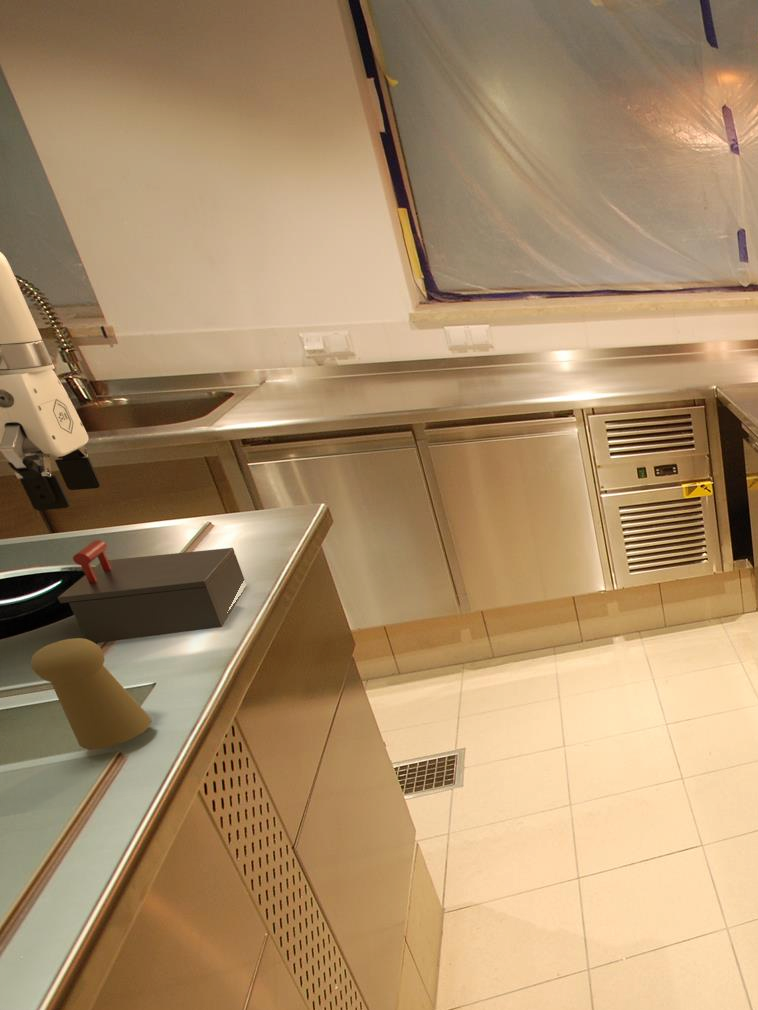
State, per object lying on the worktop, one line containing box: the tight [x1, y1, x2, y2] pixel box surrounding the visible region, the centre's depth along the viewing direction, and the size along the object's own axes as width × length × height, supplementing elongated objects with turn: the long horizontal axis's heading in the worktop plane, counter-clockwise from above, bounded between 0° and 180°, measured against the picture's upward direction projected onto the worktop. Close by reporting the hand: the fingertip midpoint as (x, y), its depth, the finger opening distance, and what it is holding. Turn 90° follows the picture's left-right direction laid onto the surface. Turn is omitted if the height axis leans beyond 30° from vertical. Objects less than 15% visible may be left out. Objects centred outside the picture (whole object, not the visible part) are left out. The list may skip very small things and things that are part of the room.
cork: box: [30, 637, 153, 750], centre depth 88 cm, size 6×6×11 cm
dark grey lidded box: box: [68, 552, 246, 644], centre depth 116 cm, size 14×15×7 cm
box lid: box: [57, 539, 236, 604], centre depth 113 cm, size 15×15×5 cm
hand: (69, 498), depth 107 cm, fingers open, 9 cm apart
